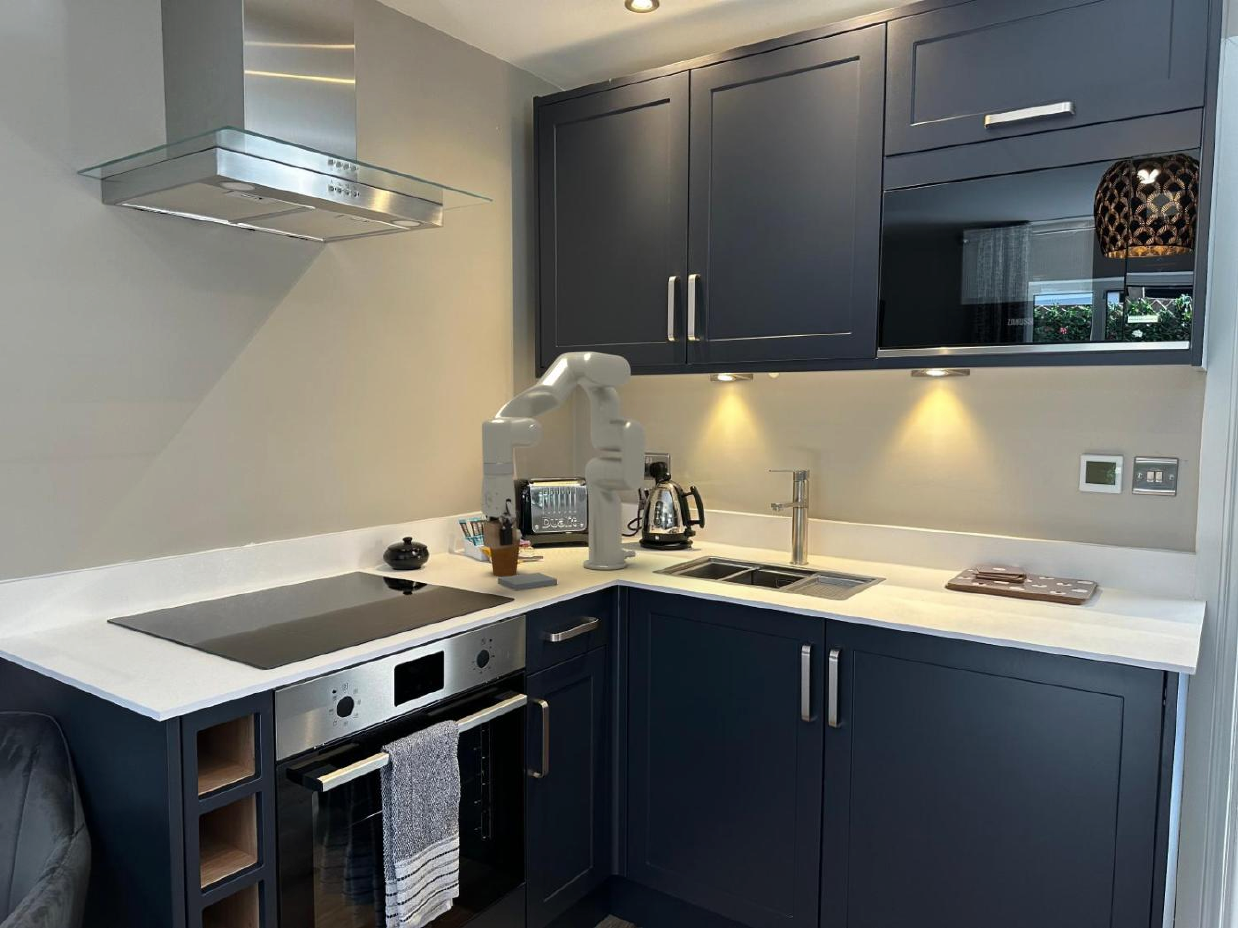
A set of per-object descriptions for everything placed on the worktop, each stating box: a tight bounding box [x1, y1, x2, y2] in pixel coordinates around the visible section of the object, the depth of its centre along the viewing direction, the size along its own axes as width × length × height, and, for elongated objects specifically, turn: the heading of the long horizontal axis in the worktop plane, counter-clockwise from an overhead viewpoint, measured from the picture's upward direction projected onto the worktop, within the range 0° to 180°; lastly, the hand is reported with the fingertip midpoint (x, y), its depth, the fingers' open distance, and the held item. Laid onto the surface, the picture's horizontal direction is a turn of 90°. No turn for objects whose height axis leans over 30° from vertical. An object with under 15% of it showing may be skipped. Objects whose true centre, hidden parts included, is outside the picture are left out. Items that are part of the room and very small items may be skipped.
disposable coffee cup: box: [489, 528, 523, 577], centre depth 229 cm, size 10×10×12 cm
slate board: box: [497, 572, 558, 591], centre depth 216 cm, size 12×10×2 cm
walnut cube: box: [482, 519, 517, 549], centre depth 205 cm, size 6×6×6 cm
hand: (500, 542), depth 205 cm, fingers closed on walnut cube, 6 cm apart
